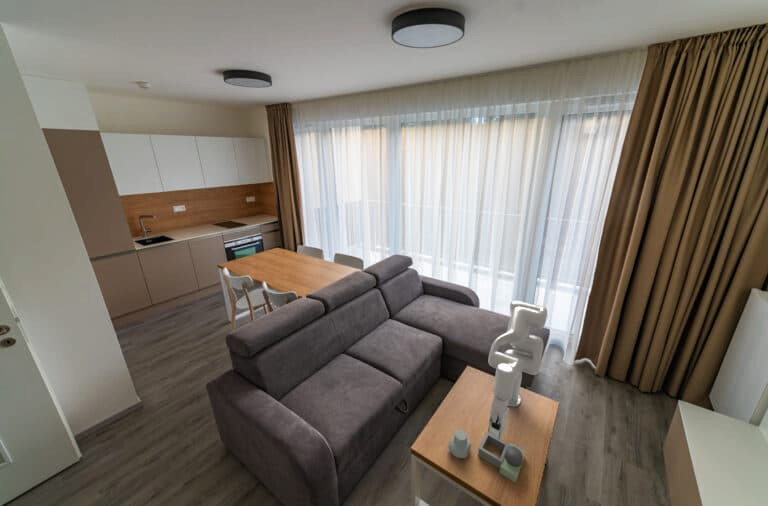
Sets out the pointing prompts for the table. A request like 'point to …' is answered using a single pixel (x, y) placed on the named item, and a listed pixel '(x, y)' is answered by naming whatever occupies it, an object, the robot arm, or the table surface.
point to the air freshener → (459, 444)
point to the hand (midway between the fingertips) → (497, 422)
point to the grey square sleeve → (503, 456)
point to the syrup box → (501, 429)
